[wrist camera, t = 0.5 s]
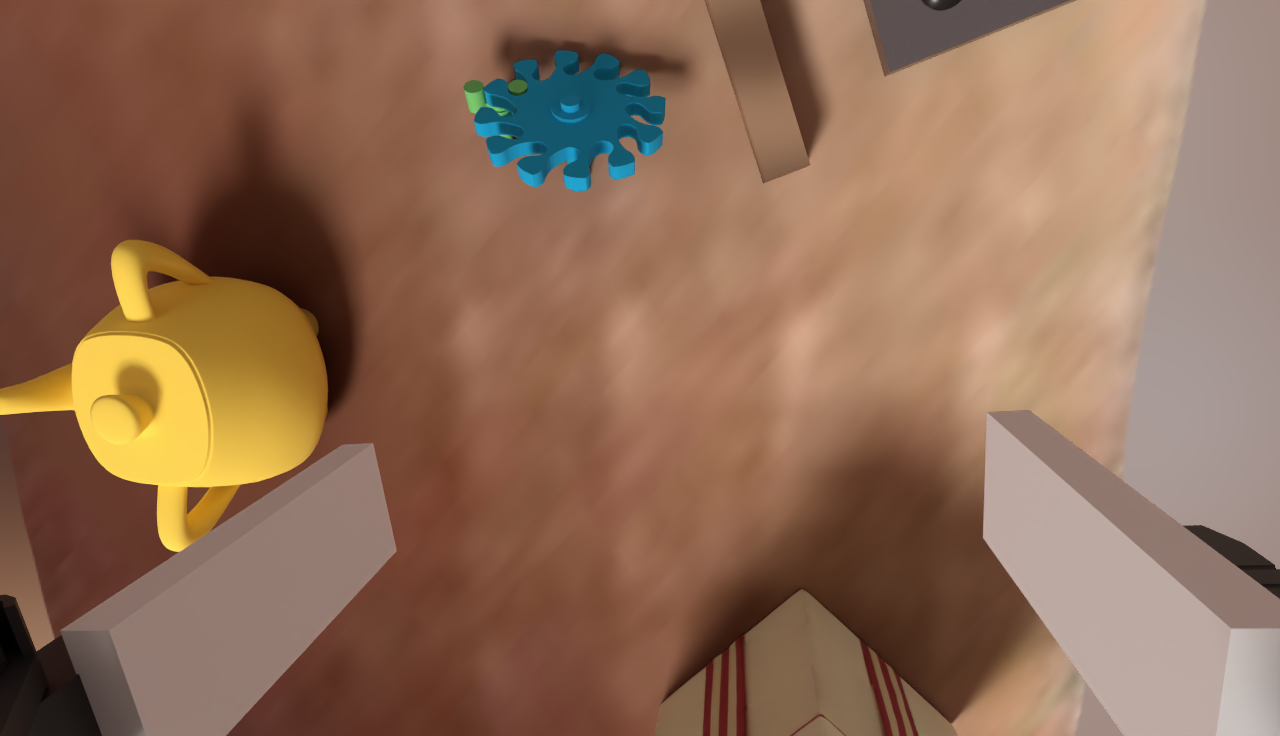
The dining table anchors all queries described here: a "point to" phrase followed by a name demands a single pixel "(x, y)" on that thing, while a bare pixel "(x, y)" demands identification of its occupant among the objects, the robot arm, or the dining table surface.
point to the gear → (567, 118)
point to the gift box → (798, 685)
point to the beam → (758, 86)
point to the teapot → (190, 386)
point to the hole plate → (941, 25)
